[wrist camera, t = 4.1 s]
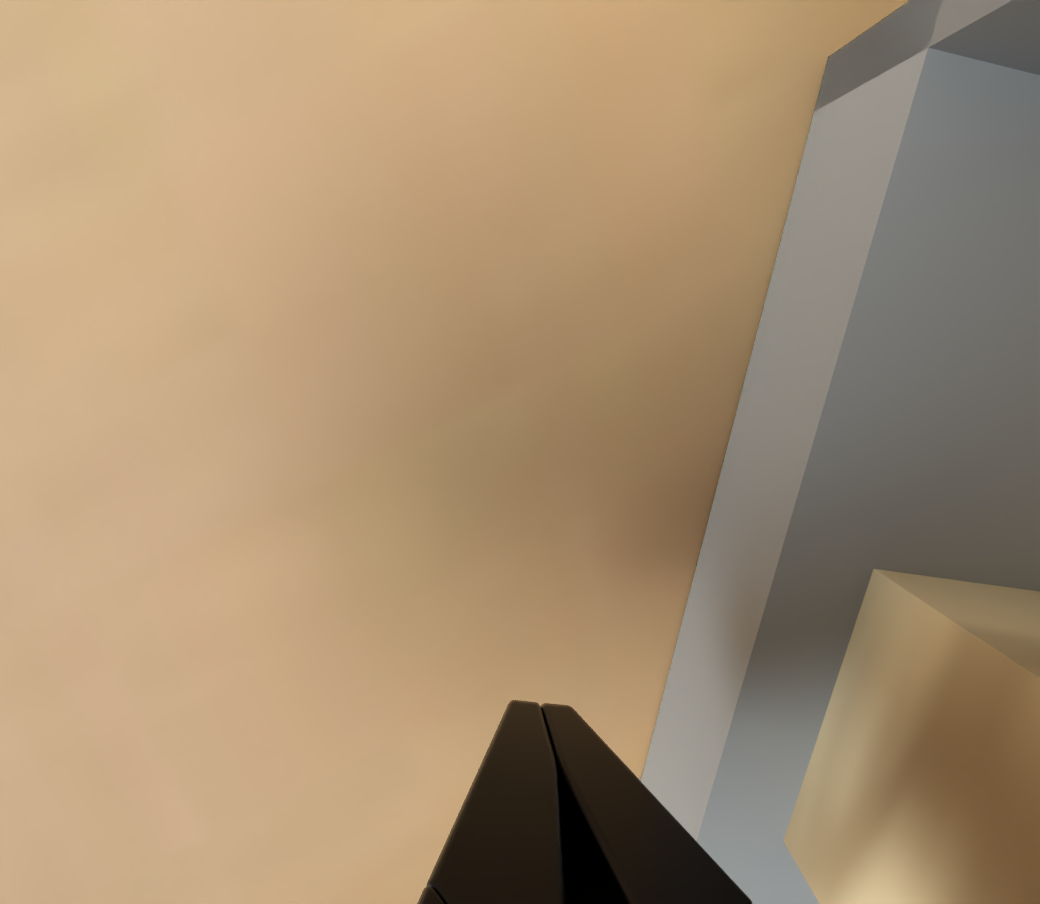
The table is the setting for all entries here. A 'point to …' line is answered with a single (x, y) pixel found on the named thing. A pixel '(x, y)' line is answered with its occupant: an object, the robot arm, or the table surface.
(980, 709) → the maple block
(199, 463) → the table surface
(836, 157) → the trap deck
